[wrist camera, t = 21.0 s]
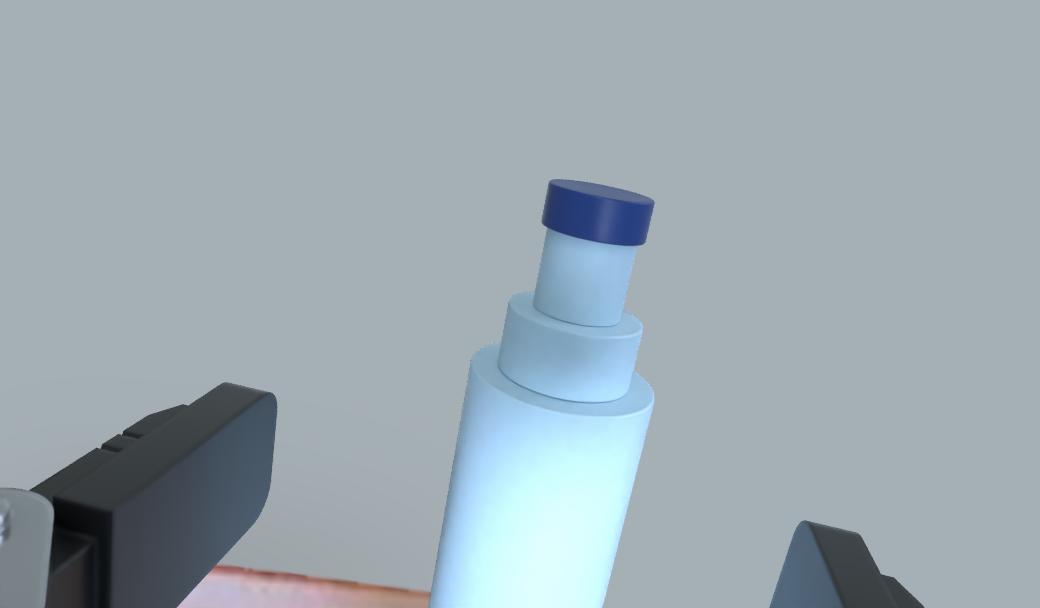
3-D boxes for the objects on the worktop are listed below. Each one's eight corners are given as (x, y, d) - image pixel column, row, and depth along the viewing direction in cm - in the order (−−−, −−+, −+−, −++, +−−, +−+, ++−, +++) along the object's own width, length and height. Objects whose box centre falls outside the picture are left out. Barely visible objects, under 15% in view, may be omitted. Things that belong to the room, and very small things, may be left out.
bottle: (570, 696, 28) (693, 198, 23) (555, 833, 23) (712, 225, 17) (431, 659, 29) (519, 163, 23) (385, 784, 23) (485, 180, 18)
